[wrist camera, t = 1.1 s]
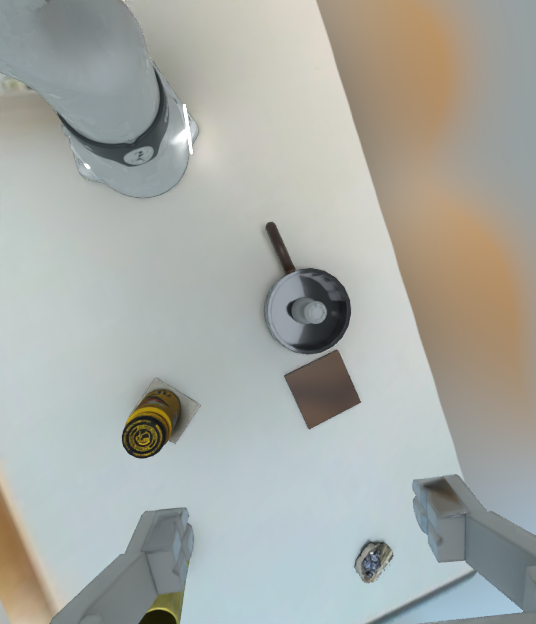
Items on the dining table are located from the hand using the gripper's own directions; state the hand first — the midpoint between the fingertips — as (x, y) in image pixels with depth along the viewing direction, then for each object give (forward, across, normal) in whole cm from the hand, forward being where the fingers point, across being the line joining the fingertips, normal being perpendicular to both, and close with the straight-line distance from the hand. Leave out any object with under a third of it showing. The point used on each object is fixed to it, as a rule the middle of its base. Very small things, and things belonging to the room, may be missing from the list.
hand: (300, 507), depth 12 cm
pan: (+43, -4, +4) cm, 44 cm away
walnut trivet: (+41, -6, +18) cm, 45 cm away
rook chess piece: (+43, -4, +4) cm, 43 cm away
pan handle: (+42, -2, -6) cm, 43 cm away
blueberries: (+36, -11, +50) cm, 62 cm away
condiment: (+37, +20, +16) cm, 45 cm away
